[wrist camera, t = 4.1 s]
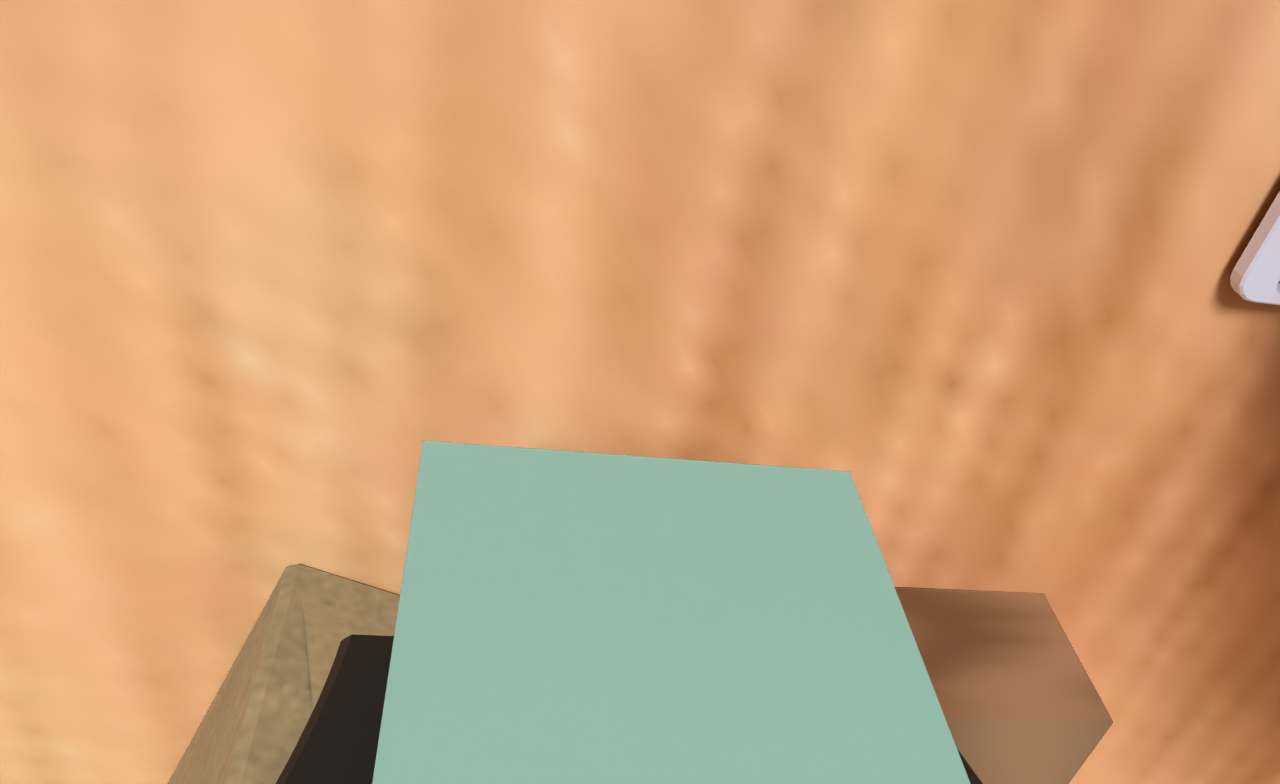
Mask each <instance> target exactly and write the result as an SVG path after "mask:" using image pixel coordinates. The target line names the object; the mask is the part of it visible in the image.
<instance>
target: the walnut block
mask: <svg viewBox="0 0 1280 784" xmlns="http://www.w3.org/2000/svg"><path fill="white" fill-rule="evenodd" d="M895 590H896V592H897V595H898V597H899V600H900V603H901V605H902V608H903V610H904V613H905V616H906V618H907V621H908V623H909V626H910V628H911V631H912V634H913V636H914V639H915V641H916V644H917V647H918V649H919V652H920V654H921V657H922V659H923V662H924V665H925V667H926V670H927V672H928V675H929V678H930V680H931V683H932V685H933V688H934V691H935V693H936V696H937V698H938V701H939V703H940V706H941V709H942V711H943V714H944V716H945V719H946V722H947V724H948V727H949V729H950V732H951V734H952V737H953V740H954V742H955V745H956V747H957V748H958V750H959V751H960V753H961V754H962V755H963V757H964V758H965V760H966V761H967V762H968V764H969V765H970V767H971V768H972V769H973V771H974V772H975V773H976V775H977V776H978V778H979V779H980V780H981V782H982V783H983V784H1069V783H1070V781H1071V780H1072V778H1073V777H1074V776H1075V774H1076V773H1077V771H1078V770H1079V769H1080V767H1081V766H1082V765H1083V763H1084V762H1085V760H1086V759H1087V758H1088V756H1089V755H1090V754H1091V752H1092V751H1093V749H1094V748H1095V747H1096V745H1097V744H1098V743H1099V741H1100V740H1101V738H1102V737H1103V736H1104V734H1105V733H1106V732H1107V730H1108V729H1109V727H1110V726H1111V725H1112V723H1113V721H1112V719H1111V717H1110V715H1109V713H1108V711H1107V709H1106V708H1105V706H1104V704H1103V702H1102V700H1101V698H1100V697H1099V695H1098V693H1097V691H1096V689H1095V687H1094V686H1093V684H1092V682H1091V680H1090V678H1089V676H1088V674H1087V673H1086V671H1085V669H1084V667H1083V665H1082V663H1081V662H1080V660H1079V658H1078V656H1077V654H1076V652H1075V650H1074V649H1073V647H1072V645H1071V643H1070V641H1069V639H1068V638H1067V636H1066V634H1065V632H1064V630H1063V628H1062V627H1061V625H1060V623H1059V621H1058V619H1057V617H1056V615H1055V614H1054V612H1053V610H1052V608H1051V606H1050V604H1049V603H1048V601H1047V599H1046V597H1045V595H1044V593H1026V592H1003V591H980V590H957V589H934V588H911V587H895Z"/></svg>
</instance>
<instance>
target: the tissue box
mask: <svg viewBox="0 0 1280 784" xmlns="http://www.w3.org/2000/svg"><path fill="white" fill-rule="evenodd" d="M399 600H400V595H396V594H393V593H390V592H387V591H384V590H380V589H377V588H374V587H371V586H368V585H365V584H361V583H358V582H355V581H352V580H349V579H345V578H342V577H339V576H336V575H333V574H330V573H326V572H323V571H320V570H317V569H314V568H311V567H307V566H304V565H301V564H297V565H292V566H289V567H286V569H285V571H284V573H283V575H282V576H281V578H280V580H279V582H278V584H277V586H276V587H275V589H274V591H273V593H272V595H271V596H270V598H269V600H268V602H267V604H266V606H265V607H264V609H263V611H262V613H261V615H260V617H259V618H258V620H257V622H256V624H255V626H254V627H253V629H252V631H251V633H250V635H249V637H248V638H247V640H246V642H245V644H244V646H243V648H242V649H241V651H240V653H239V655H238V657H237V658H236V660H235V662H234V664H233V666H232V668H231V669H230V671H229V673H228V675H227V677H226V679H225V680H224V682H223V684H222V686H221V688H220V689H219V691H218V693H217V695H216V697H215V699H214V700H213V702H212V704H211V706H210V708H209V710H208V711H207V713H206V715H205V717H204V719H203V721H202V722H201V724H200V726H199V728H198V730H197V731H196V733H195V735H194V737H193V739H192V741H191V742H190V744H189V746H188V748H187V750H186V752H185V753H184V755H183V757H182V759H181V761H180V762H179V764H178V766H177V768H176V770H175V772H174V773H173V775H172V777H171V779H170V781H169V783H168V784H276V782H277V780H278V778H279V776H280V775H281V773H282V771H283V769H284V767H285V765H286V764H287V762H288V760H289V758H290V756H291V754H292V752H293V750H294V748H295V746H296V744H297V742H298V740H299V738H300V736H301V734H302V732H303V730H304V728H305V726H306V724H307V722H308V720H309V718H310V716H311V714H312V712H313V710H314V707H315V705H316V703H317V701H318V699H319V696H320V694H321V692H322V689H323V687H324V685H325V682H326V680H327V677H328V675H329V673H330V670H331V668H332V665H333V662H334V660H335V657H336V654H337V651H338V648H339V645H340V642H341V640H343V639H345V638H346V637H348V636H350V635H351V634H355V635H379V636H394V634H395V627H396V620H397V614H398V607H399Z"/></svg>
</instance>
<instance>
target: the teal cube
mask: <svg viewBox="0 0 1280 784" xmlns="http://www.w3.org/2000/svg"><path fill="white" fill-rule="evenodd" d="M372 784H970V781H969V778H968V776H967V773H966V771H965V768H964V766H963V763H962V760H961V758H960V755H959V753H958V750H957V747H956V745H955V742H954V740H953V737H952V734H951V732H950V729H949V727H948V724H947V722H946V719H945V716H944V714H943V711H942V709H941V706H940V703H939V701H938V698H937V696H936V693H935V691H934V688H933V685H932V683H931V680H930V678H929V675H928V672H927V670H926V667H925V665H924V662H923V659H922V657H921V654H920V652H919V649H918V647H917V644H916V641H915V639H914V636H913V634H912V631H911V628H910V626H909V623H908V621H907V618H906V616H905V613H904V610H903V608H902V605H901V603H900V600H899V597H898V595H897V592H896V590H895V587H894V585H893V582H892V579H891V577H890V574H889V572H888V569H887V566H886V564H885V561H884V559H883V556H882V553H881V551H880V548H879V546H878V543H877V541H876V538H875V535H874V533H873V530H872V528H871V525H870V522H869V520H868V517H867V515H866V512H865V510H864V507H863V504H862V502H861V499H860V497H859V494H858V491H857V489H856V486H855V484H854V481H853V478H852V476H851V473H850V471H836V470H822V469H808V468H795V467H781V466H767V465H753V464H740V463H726V462H712V461H699V460H685V459H671V458H657V457H644V456H630V455H616V454H602V453H589V452H575V451H561V450H548V449H534V448H520V447H506V446H493V445H479V444H465V443H451V442H438V441H424V440H423V446H422V452H421V459H420V466H419V473H418V479H417V486H416V493H415V499H414V506H413V513H412V520H411V526H410V533H409V540H408V546H407V553H406V560H405V567H404V573H403V580H402V587H401V593H400V600H399V607H398V614H397V620H396V627H395V634H394V640H393V647H392V654H391V661H390V667H389V674H388V681H387V688H386V694H385V701H384V708H383V714H382V721H381V728H380V735H379V741H378V748H377V755H376V761H375V768H374V775H373V782H372Z"/></svg>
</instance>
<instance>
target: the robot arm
mask: <svg viewBox="0 0 1280 784" xmlns="http://www.w3.org/2000/svg"><path fill="white" fill-rule="evenodd" d="M1279 281H1280V191H1279V193H1278V194H1277V196H1276V198H1275V200H1274V201H1273V203H1272V205H1271V206H1270V208H1269V210H1268V211H1267V213H1266V215H1265V216H1264V218H1263V220H1262V221H1261V223H1260V225H1259V227H1258V228H1257V230H1256V232H1255V233H1254V235H1253V237H1252V238H1251V240H1250V242H1249V243H1248V245H1247V247H1246V248H1245V250H1244V252H1243V254H1242V255H1241V257H1240V259H1239V260H1238V262H1237V264H1236V265H1235V267H1234V269H1233V271H1232V274H1231V277H1230V284H1231V287H1232V288H1233V289H1234V291H1235V292H1236V293H1237V294H1239V295H1240V296H1241V297H1242V298H1243V299H1244V300H1247V301H1250V302H1254V303H1264V304H1273V305H1280V283H1279V284H1278V282H1279ZM393 640H394V636H379V635H355V634H351V635H350V636H348V637H346V638H345V639H343V640H341V642H340V645H339V648H338V651H337V654H336V657H335V660H334V662H333V665H332V668H331V670H330V673H329V675H328V677H327V680H326V682H325V685H324V687H323V689H322V692H321V694H320V696H319V699H318V701H317V703H316V705H315V707H314V710H313V712H312V714H311V716H310V718H309V720H308V722H307V724H306V726H305V728H304V730H303V732H302V734H301V736H300V738H299V740H298V742H297V744H296V746H295V748H294V750H293V752H292V754H291V756H290V758H289V760H288V762H287V764H286V765H285V767H284V769H283V771H282V773H281V775H280V776H279V778H278V780H277V782H276V784H372V782H373V775H374V768H375V761H376V755H377V748H378V741H379V735H380V728H381V721H382V714H383V708H384V701H385V694H386V688H387V681H388V674H389V667H390V661H391V654H392V647H393ZM957 750H958V748H957ZM958 753H959V755H960V758H961V760H962V763H963V766H964V768H965V771H966V773H967V776H968V778H969V781H970V784H983V783H982V782H981V780H980V779H979V778H978V776H977V775H976V773H975V772H974V771H973V769H972V768H971V767H970V765H969V764H968V762H967V761H966V760H965V758H964V757H963V755H962V754H961V753H960V751H959V750H958Z"/></svg>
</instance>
